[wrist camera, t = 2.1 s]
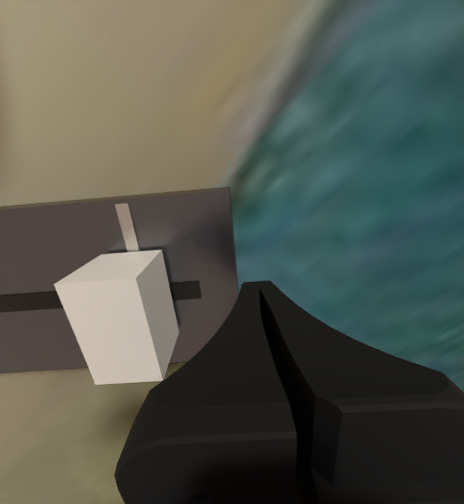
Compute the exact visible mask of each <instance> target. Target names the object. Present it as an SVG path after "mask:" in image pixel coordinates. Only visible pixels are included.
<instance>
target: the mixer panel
mask: <svg viewBox="0 0 464 504" xmlns="http://www.w3.org/2000/svg"><path fill="white" fill-rule="evenodd" d="M152 250H162V253H163V258H164V263H165V268H166V272H167V277H168V282H169V287H170V292H171V296H172V301H173V306H174V311H175V315H176V320H177V325H178V330H179V334H178V337H177V340H176V343H175V346H174V349H173V352H172V355H171V358H170V361H169V363H173V362H188V361H189V360H190V359H191V358H192V357H193V356H195V355H196V354H197V353H198V352H199V351H200V350H201V349H202V348H203V347H204V346H205V345H206V344H207V342H208V341H209V340H210V339H211V338H212V337H213V336H214V334H215V333H216V332H217V331H218V329H219V328H220V327H221V325H222V324H223V323H224V321H225V320H226V318H227V317H228V315H229V313H230V311H231V310H232V308H233V306H234V304H235V302H236V300H237V298H238V296H239V293H238V281H237V268H236V256H235V244H234V232H233V220H232V208H231V196H230V187H223V188H212V189H200V190H188V191H177V192H165V193H154V194H142V195H130V196H119V197H107V198H95V199H84V200H72V201H61V202H49V203H37V204H26V205H14V206H2V207H0V373H9V372H25V371H42V370H58V369H74V368H89V367H88V365H87V362H86V360H85V358H84V355H83V353H82V351H81V348H80V346H79V343H78V341H77V339H76V336H75V334H74V331H73V329H72V327H71V324H70V322H69V320H68V317H67V315H66V312H65V310H64V308H63V305H62V303H61V300H60V298H59V296H58V293H57V291H56V288H55V286H54V284H55V283H57V282H58V281H60V280H62V279H63V278H65V277H66V276H68V275H70V274H71V273H73V272H74V271H76V270H77V269H79V268H81V267H82V266H84V265H85V264H87V263H89V262H90V261H92V260H93V259H95V258H97V257H98V256H100V255H101V254H113V253H126V252H139V251H152Z"/></svg>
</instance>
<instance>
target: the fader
mask: <svg viewBox="0 0 464 504" xmlns="http://www.w3.org/2000/svg"><path fill="white" fill-rule="evenodd" d="M54 286H55V288H56V291H57V293H58V296H59V298H60V300H61V303H62V305H63V308H64V310H65V312H66V315H67V317H68V320H69V322H70V324H71V327H72V329H73V331H74V334H75V336H76V339H77V341H78V343H79V346H80V348H81V351H82V353H83V355H84V358H85V360H86V362H87V365H88V367H89V370H90V372H91V374H92V377H93V379H94V382H95V384H96V385H98V384H115V383H132V382H149V381H163V379H164V376H165V373H166V370H167V367H168V364H169V361H170V358H171V355H172V352H173V349H174V346H175V343H176V340H177V337H178V334H179V330H178V325H177V320H176V315H175V311H174V306H173V301H172V296H171V292H170V287H169V282H168V277H167V272H166V268H165V263H164V258H163V253H162V250H152V251H139V252H126V253H113V254H101V255H100V256H98V257H97V258H95V259H93V260H92V261H90V262H89V263H87V264H85V265H84V266H82V267H81V268H79V269H77V270H76V271H74V272H73V273H71V274H70V275H68V276H66V277H65V278H63V279H62V280H60V281H58V282H57V283H55V284H54Z"/></svg>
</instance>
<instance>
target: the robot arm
mask: <svg viewBox="0 0 464 504" xmlns="http://www.w3.org/2000/svg"><path fill="white" fill-rule="evenodd" d="M115 479H116V483H117V487H118V490H119V492H120V494H121V496H122V498H123V500H124V503H125V504H464V392H463V391H461V390H460V389H459V388H458V387H457V386H456V385H455V384H454V383H453V382H452V381H451V380H450V379H449V378H448V377H447V376H445V375H444V374H443V373H441V372H439V371H436V370H433V369H430V368H427V367H424V366H421V365H418V364H415V363H412V362H409V361H407V360H404V359H401V358H398V357H395V356H393V355H390V354H388V353H385V352H383V351H380V350H378V349H375V348H373V347H370V346H368V345H366V344H364V343H361V342H359V341H357V340H355V339H353V338H351V337H349V336H347V335H345V334H343V333H341V332H339V331H337V330H335V329H333V328H331V327H330V326H328V325H326V324H325V323H323V322H321V321H320V320H318V319H316V318H315V317H313V316H312V315H310V314H309V313H307V312H306V311H305V310H303V309H302V308H301V307H299V306H298V305H297V304H295V303H294V302H293V301H292V300H291V299H289V298H288V297H287V296H286V295H285V294H284V293H283V292H282V291H280V290H279V289H278V288H277V287H276V286H275V285H274V284H273V283H272V282H271V281H257V282H244V283H243V284H242V286H241V290H240V293H239V296H238V298H237V300H236V302H235V304H234V306H233V308H232V310H231V311H230V313H229V315H228V317H227V318H226V320H225V321H224V323H223V324H222V325H221V327H220V328H219V329H218V331H217V332H216V333H215V334H214V336H213V337H212V338H211V339H210V340H209V341H208V342H207V344H206V345H205V346H204V347H203V348H202V349H201V350H200V351H199V352H198V353H197V354H196V355H195V356H193V357H192V358H191V359H190V360H189V361H188V362H187V363H186V364H185V365H183V366H182V367H181V368H180V369H178V370H177V371H176V372H175V373H173V374H172V375H170V376H169V377H168V378H166V379H165V380H164V381H162V382H161V383H160V384H158V385H157V386H155V387H154V388H153V389H151V390H150V391H149V393H148V395H147V397H146V399H145V401H144V403H143V405H142V407H141V408H140V410H139V412H138V414H137V416H136V418H135V420H134V423H133V425H132V428H131V430H130V433H129V435H128V438H127V440H126V443H125V445H124V448H123V450H122V453H121V455H120V458H119V460H118V463H117V466H116V471H115Z"/></svg>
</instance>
